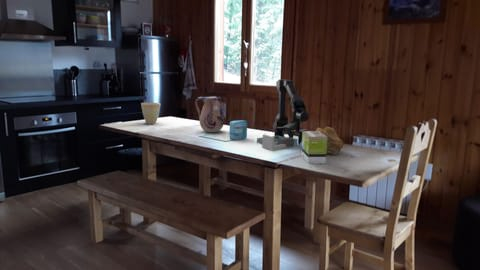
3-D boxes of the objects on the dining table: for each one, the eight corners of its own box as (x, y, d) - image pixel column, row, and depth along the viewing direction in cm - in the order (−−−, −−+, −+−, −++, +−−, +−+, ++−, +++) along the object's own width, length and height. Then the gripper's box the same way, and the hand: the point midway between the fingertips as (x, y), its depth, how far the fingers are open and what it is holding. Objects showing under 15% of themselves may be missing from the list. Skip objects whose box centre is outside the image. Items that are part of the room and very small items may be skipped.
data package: (233, 140, 251) (234, 122, 249) (229, 139, 254) (229, 121, 252) (246, 138, 259) (247, 120, 257) (242, 137, 262) (242, 119, 260)
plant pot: (147, 125, 295) (147, 105, 292) (138, 123, 306) (137, 103, 302) (164, 123, 305) (164, 104, 302) (154, 121, 316) (154, 102, 312)
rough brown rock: (334, 160, 210) (339, 134, 207) (306, 153, 219) (310, 128, 216) (347, 153, 230) (351, 129, 227) (321, 147, 238) (325, 124, 235)
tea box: (300, 156, 214) (302, 130, 211) (318, 156, 215) (319, 130, 212) (307, 163, 199) (309, 136, 196) (326, 163, 200) (328, 136, 197)
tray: (277, 139, 257) (277, 135, 256) (287, 142, 249) (287, 138, 249) (256, 142, 247) (257, 138, 246) (266, 145, 239) (266, 140, 239)
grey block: (276, 145, 239) (277, 133, 238) (286, 148, 232) (287, 135, 231) (262, 147, 233) (262, 134, 231) (271, 150, 226) (272, 137, 224)
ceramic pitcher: (222, 134, 270) (223, 98, 265) (193, 133, 271) (193, 97, 266) (224, 129, 287) (225, 96, 283) (196, 128, 288) (196, 95, 283)
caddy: (293, 144, 244) (293, 136, 244) (298, 145, 241) (298, 137, 240) (277, 146, 237) (278, 138, 236) (282, 147, 234) (282, 139, 233)
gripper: (277, 117, 242) (275, 141, 245) (297, 122, 227) (296, 147, 230) (290, 116, 248) (288, 140, 251) (310, 120, 233) (309, 145, 236)
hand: (295, 143), depth 242 cm, fingers open, 7 cm apart
